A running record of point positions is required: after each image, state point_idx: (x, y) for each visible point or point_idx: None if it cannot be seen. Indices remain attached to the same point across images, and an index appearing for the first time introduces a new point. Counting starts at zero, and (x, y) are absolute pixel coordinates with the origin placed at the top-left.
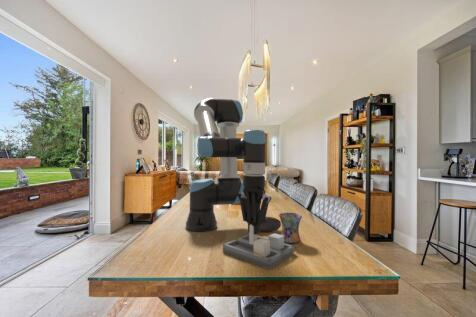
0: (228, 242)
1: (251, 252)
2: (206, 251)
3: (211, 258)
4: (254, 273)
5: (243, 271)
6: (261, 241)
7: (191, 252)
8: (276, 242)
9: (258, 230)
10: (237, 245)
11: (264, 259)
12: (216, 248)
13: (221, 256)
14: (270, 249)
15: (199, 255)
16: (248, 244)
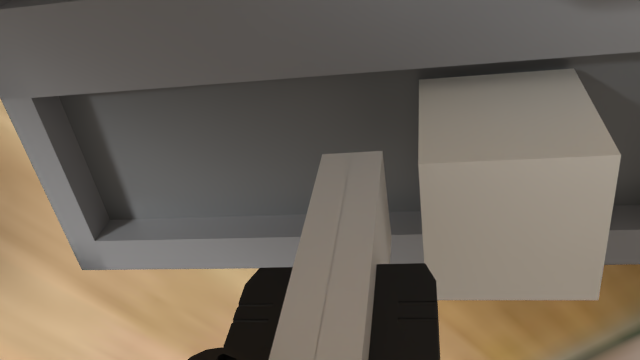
0: (54, 204)
1: (419, 235)
2: (41, 288)
3: (177, 334)
4: (582, 315)
5: (495, 336)
6: (513, 242)
7: (14, 351)
8: None
9: (437, 328)
10: (111, 119)
11: (623, 259)
12: (15, 209)
13: (187, 278)
14: (553, 25)
15: (88, 349)
16: (210, 80)
